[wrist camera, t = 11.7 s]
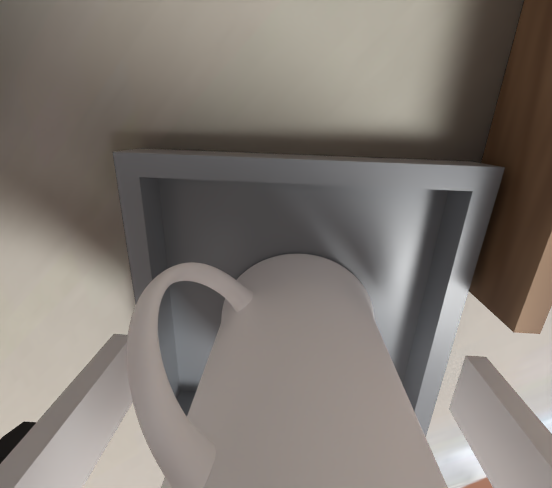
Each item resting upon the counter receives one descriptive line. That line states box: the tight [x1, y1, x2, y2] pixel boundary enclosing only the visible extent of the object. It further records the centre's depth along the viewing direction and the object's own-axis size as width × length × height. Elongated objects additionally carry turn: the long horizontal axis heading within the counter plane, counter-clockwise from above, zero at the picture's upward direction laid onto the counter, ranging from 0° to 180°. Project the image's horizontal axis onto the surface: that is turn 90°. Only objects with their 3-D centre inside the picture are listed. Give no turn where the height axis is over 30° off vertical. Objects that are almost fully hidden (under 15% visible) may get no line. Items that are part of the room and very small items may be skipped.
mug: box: [127, 254, 448, 488], centre depth 11 cm, size 12×8×12 cm
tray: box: [113, 148, 505, 437], centre depth 16 cm, size 16×16×2 cm
